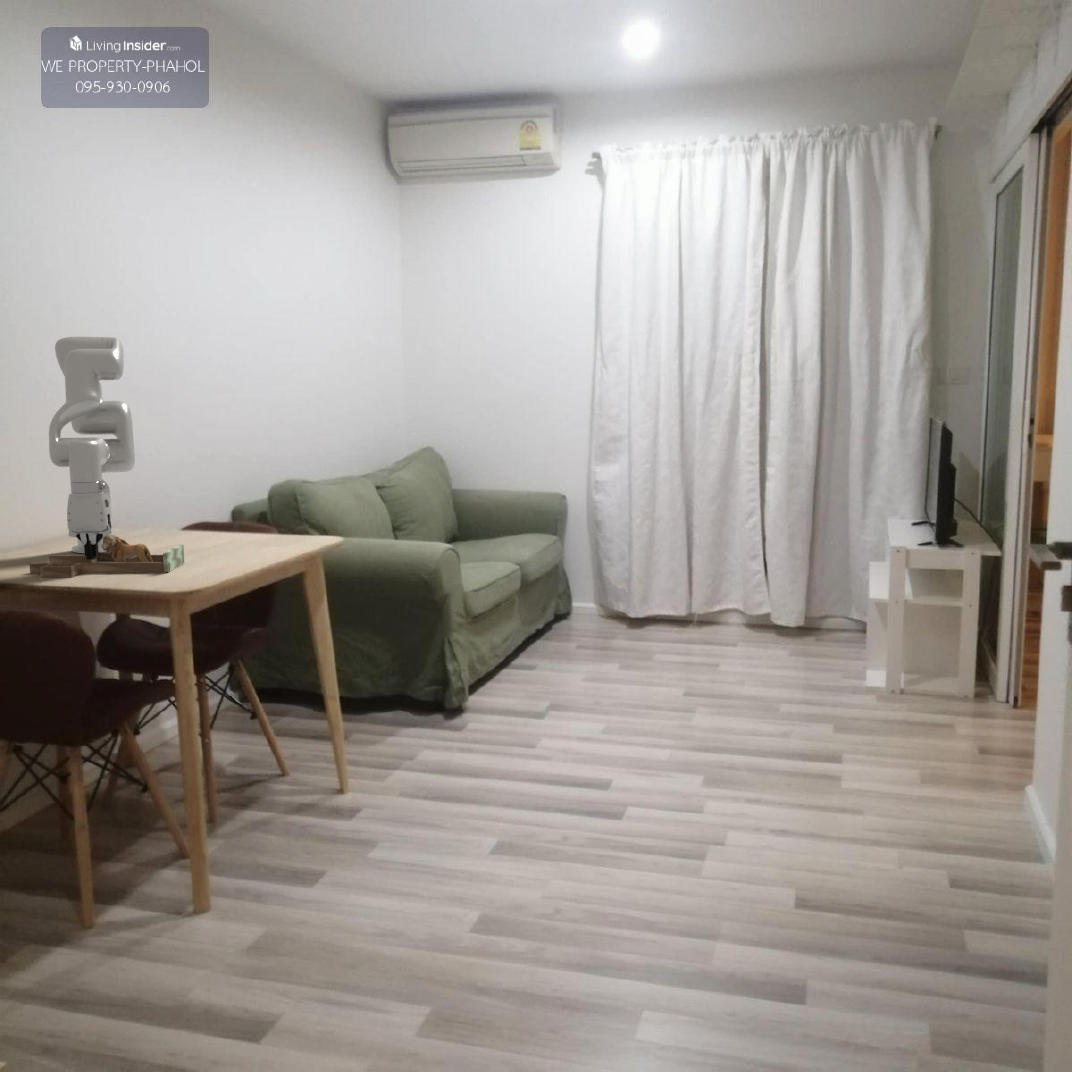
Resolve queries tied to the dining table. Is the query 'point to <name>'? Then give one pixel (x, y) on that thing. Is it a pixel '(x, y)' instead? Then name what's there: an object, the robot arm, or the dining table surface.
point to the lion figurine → (124, 549)
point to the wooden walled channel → (107, 564)
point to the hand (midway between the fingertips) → (92, 558)
